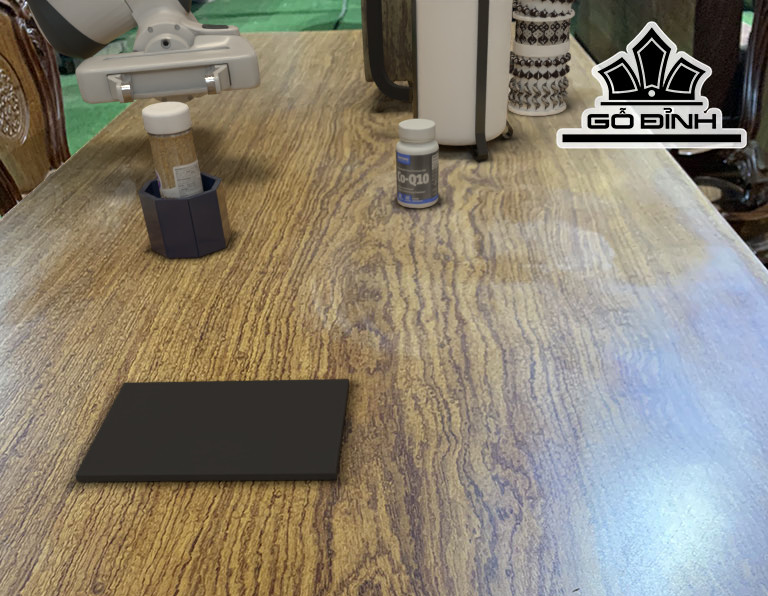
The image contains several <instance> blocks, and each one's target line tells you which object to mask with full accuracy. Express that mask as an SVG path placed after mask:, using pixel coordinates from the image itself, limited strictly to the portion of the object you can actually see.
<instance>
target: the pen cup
mask: <svg viewBox="0 0 768 596" xmlns="http://www.w3.org/2000/svg"><path fill="white" fill-rule="evenodd" d="M200 176H201V181H202V187H203V192H202V193H199V194H196V195H192V196H189V197H179V198H161V194H160V190H159V185H158V180H157V177H155V178H152V179H149V180H147V181H145V182H144V184H143V185H142V186H141V188H140V189H139V190H138V192H137V193H138V198H139V201H140V202H139V203H140V207H141V210H142V215H143V218H144V223H145V227H146V231H147V236H148V240H149V245H150V249H151V250H152V251H154V252H155V253H158V254H159V255H160V256H163V257H164V258H166V259H198V258H203V257H204V256H207V255H210V254H213V253H215V252H218V251H220V250H223V249H225V248H227V247H228V244H229V241H230V240H231V237H232V230H231V224H230V218H229V213H228V208H227V201H226V194H225V188H224V182H223V178H221V177H219V176H216V175H214V174H212V173H208V172H206V171H200Z"/></svg>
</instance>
